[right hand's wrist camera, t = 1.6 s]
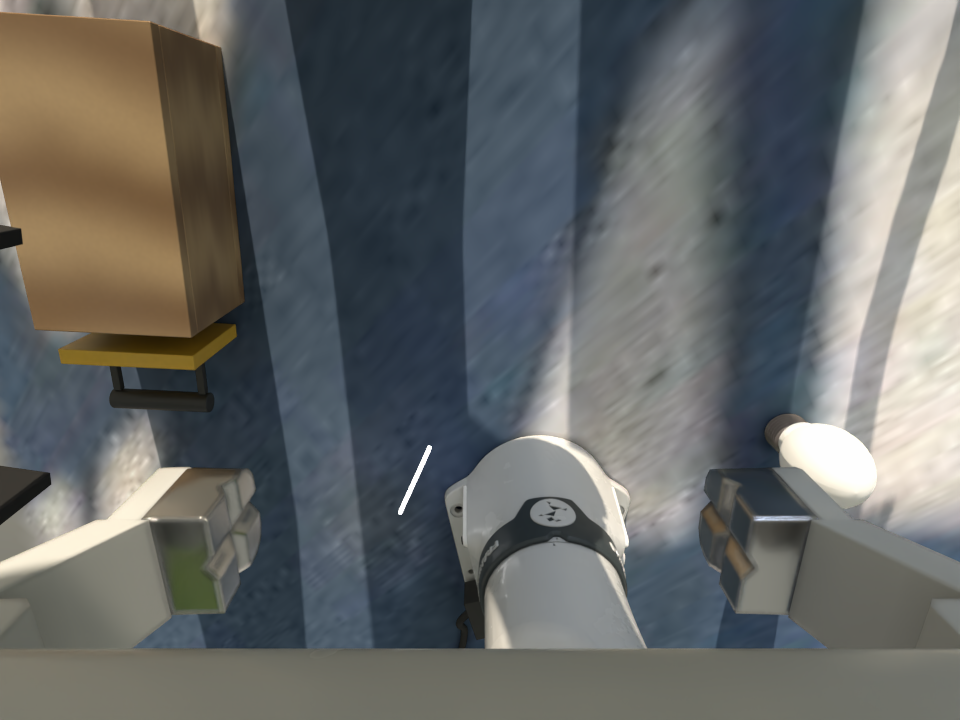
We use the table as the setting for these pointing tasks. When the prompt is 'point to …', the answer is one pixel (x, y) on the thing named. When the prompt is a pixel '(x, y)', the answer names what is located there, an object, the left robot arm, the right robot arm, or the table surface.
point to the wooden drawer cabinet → (118, 175)
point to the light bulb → (825, 457)
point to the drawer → (153, 364)
